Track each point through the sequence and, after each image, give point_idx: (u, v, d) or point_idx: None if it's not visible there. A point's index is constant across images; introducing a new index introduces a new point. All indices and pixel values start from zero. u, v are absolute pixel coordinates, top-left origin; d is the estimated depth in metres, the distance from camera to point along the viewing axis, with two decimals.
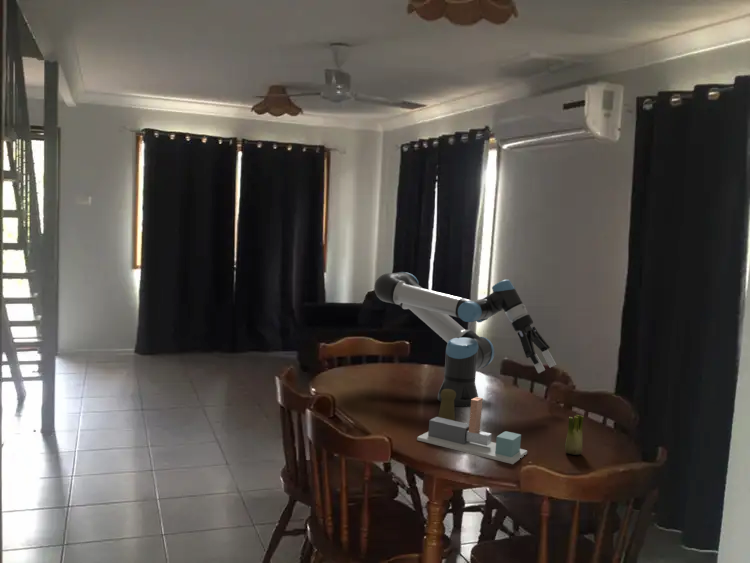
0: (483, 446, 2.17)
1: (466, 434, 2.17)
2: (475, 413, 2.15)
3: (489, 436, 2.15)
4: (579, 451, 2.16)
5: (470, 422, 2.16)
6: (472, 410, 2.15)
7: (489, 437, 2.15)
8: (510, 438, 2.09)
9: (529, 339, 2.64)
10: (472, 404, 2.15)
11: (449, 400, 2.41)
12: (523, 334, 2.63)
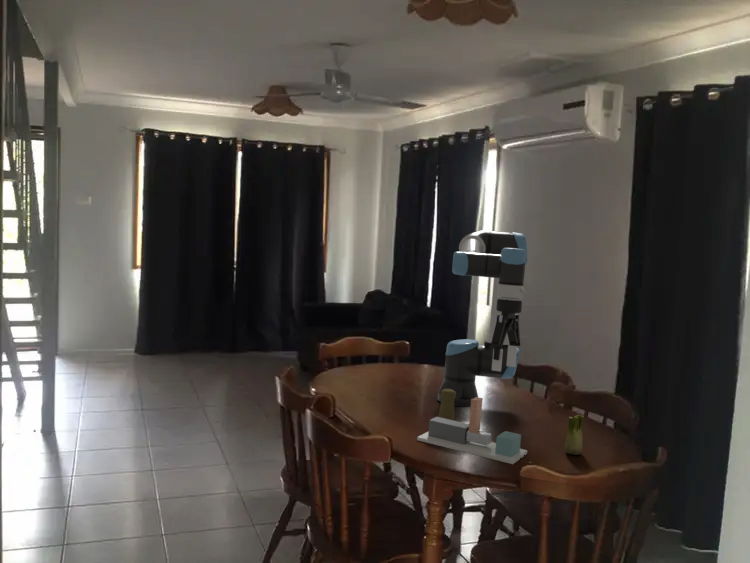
0: (483, 446, 2.17)
1: (466, 434, 2.17)
2: (475, 413, 2.15)
3: (489, 436, 2.15)
4: (579, 451, 2.16)
5: (470, 422, 2.16)
6: (472, 410, 2.15)
7: (489, 437, 2.15)
8: (510, 438, 2.09)
9: (505, 329, 2.14)
10: (472, 404, 2.15)
11: (449, 400, 2.41)
12: (502, 321, 2.12)
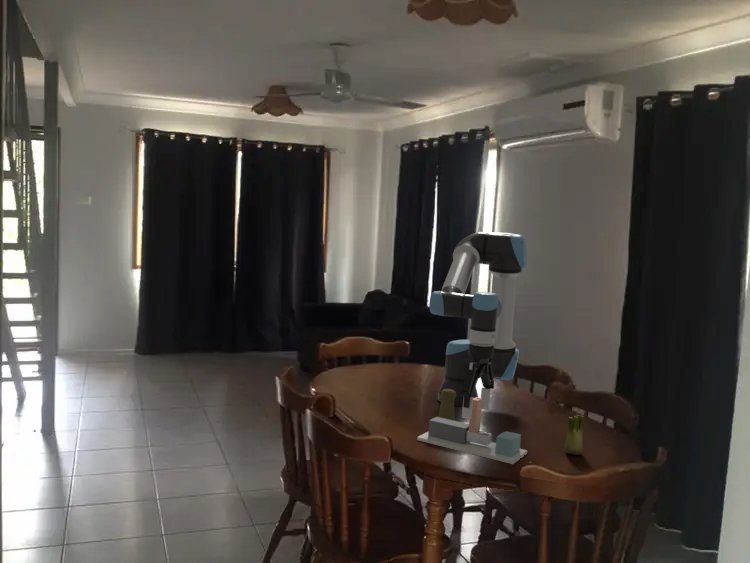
0: (483, 446, 2.17)
1: (466, 434, 2.17)
2: (475, 413, 2.15)
3: (489, 436, 2.15)
4: (579, 451, 2.16)
5: (470, 422, 2.16)
6: (472, 410, 2.15)
7: (489, 437, 2.15)
8: (510, 438, 2.09)
9: (476, 375, 2.12)
10: None
11: (449, 400, 2.41)
12: (472, 368, 2.09)
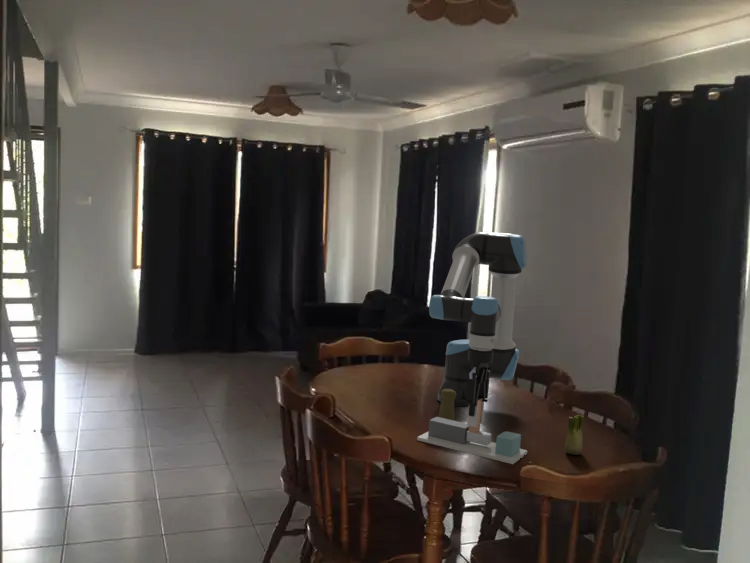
0: (483, 446, 2.17)
1: (466, 434, 2.17)
2: None
3: (489, 436, 2.15)
4: (579, 451, 2.16)
5: None
6: None
7: (489, 437, 2.15)
8: (510, 438, 2.09)
9: (477, 382, 2.13)
10: None
11: (449, 400, 2.41)
12: (473, 379, 2.10)
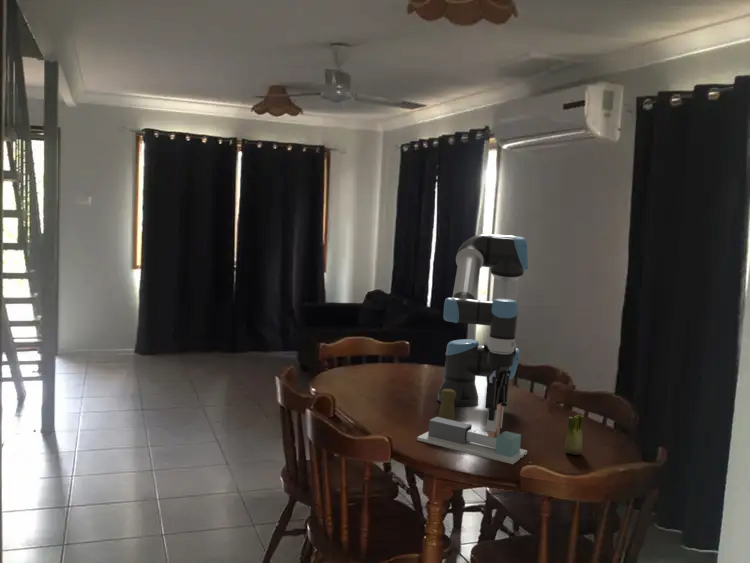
0: (483, 446, 2.17)
1: (485, 439, 2.14)
2: None
3: None
4: (579, 451, 2.16)
5: None
6: None
7: None
8: (510, 438, 2.09)
9: (497, 386, 2.10)
10: None
11: (449, 400, 2.41)
12: (493, 382, 2.07)
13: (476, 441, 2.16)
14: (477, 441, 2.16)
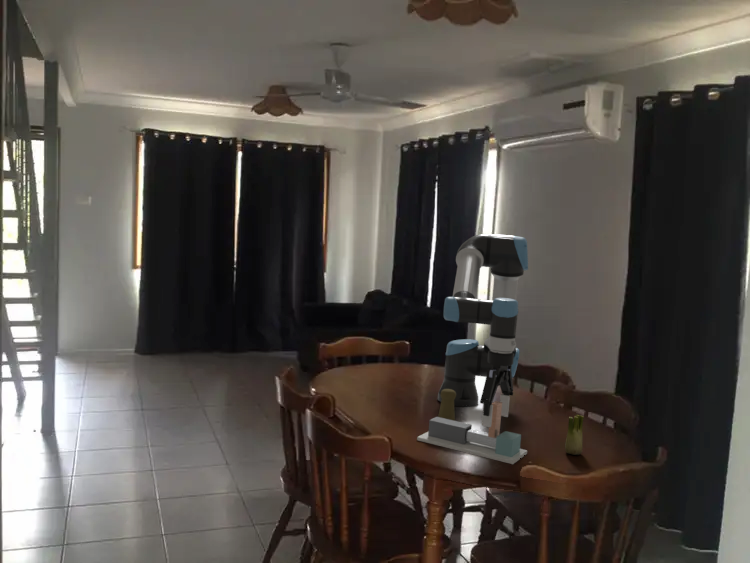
0: (483, 446, 2.17)
1: (485, 439, 2.14)
2: (494, 418, 2.12)
3: None
4: (579, 451, 2.16)
5: None
6: (492, 414, 2.12)
7: None
8: (510, 438, 2.09)
9: (496, 383, 2.09)
10: None
11: (449, 400, 2.41)
12: (492, 376, 2.06)
13: (476, 441, 2.16)
14: (477, 441, 2.16)
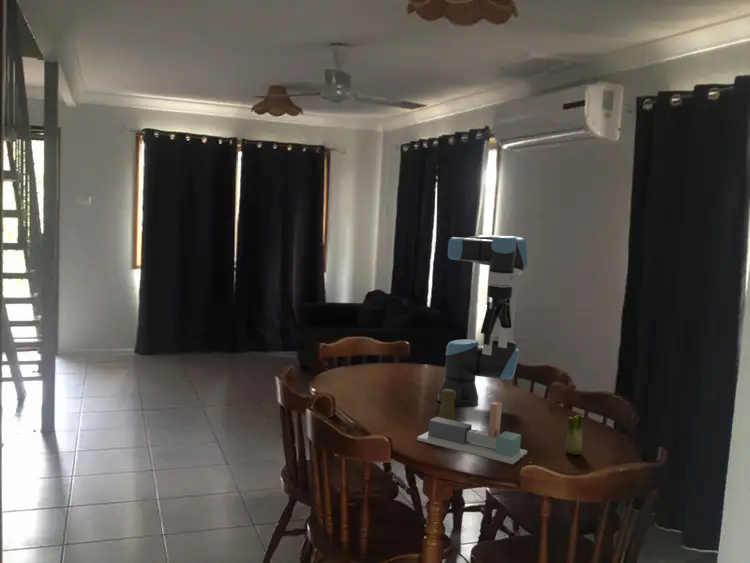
0: (483, 446, 2.17)
1: (485, 439, 2.14)
2: (494, 418, 2.12)
3: None
4: (579, 451, 2.16)
5: (490, 426, 2.13)
6: (492, 414, 2.12)
7: None
8: (510, 438, 2.09)
9: (495, 314, 2.25)
10: (492, 408, 2.12)
11: (449, 400, 2.41)
12: (492, 308, 2.22)
13: (476, 441, 2.16)
14: (477, 441, 2.16)
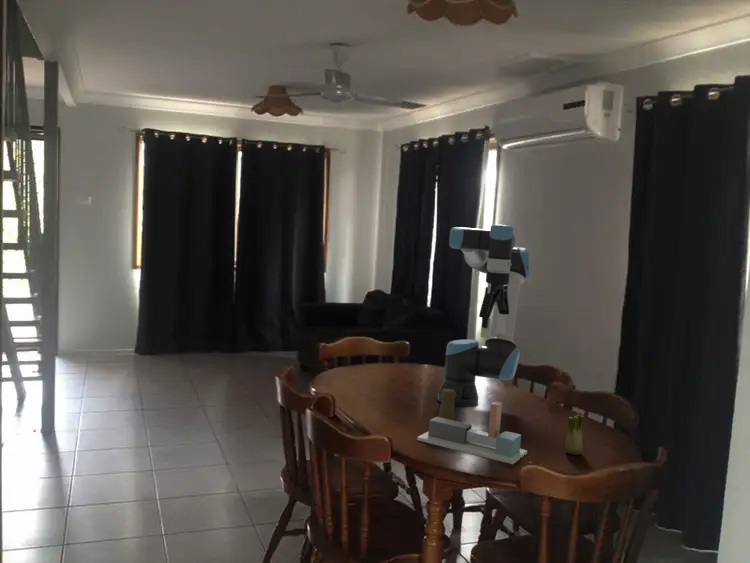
0: (483, 446, 2.17)
1: (485, 439, 2.14)
2: (494, 418, 2.12)
3: None
4: (579, 451, 2.16)
5: (490, 426, 2.13)
6: (492, 414, 2.12)
7: None
8: (510, 438, 2.09)
9: (493, 299, 2.33)
10: (492, 408, 2.12)
11: (449, 400, 2.41)
12: (490, 292, 2.31)
13: (476, 441, 2.16)
14: (477, 441, 2.16)
